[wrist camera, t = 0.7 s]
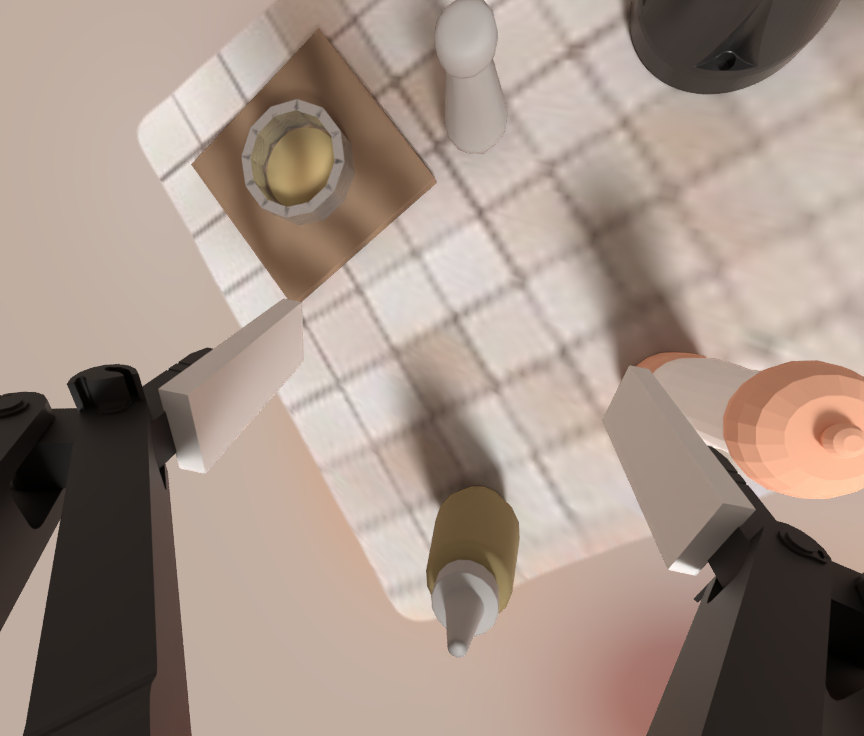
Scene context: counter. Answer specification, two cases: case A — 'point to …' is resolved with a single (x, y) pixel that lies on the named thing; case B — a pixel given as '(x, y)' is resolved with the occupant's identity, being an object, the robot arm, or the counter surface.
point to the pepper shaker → (774, 419)
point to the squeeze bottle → (472, 563)
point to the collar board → (312, 169)
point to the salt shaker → (470, 75)
